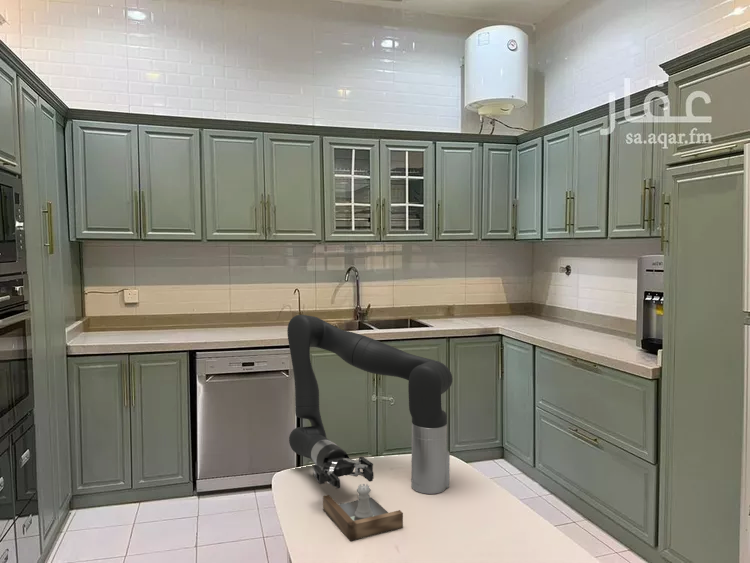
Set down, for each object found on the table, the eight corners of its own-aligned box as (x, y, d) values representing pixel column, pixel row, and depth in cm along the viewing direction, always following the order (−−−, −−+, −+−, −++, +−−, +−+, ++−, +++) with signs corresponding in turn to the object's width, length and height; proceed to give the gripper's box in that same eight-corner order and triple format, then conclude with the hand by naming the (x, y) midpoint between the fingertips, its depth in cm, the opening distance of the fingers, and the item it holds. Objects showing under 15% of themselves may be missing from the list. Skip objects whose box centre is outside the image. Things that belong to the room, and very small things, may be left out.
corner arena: (371, 499, 137) (371, 485, 137) (402, 528, 123) (402, 512, 123) (323, 510, 131) (323, 495, 131) (350, 541, 117) (350, 525, 117)
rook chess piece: (371, 526, 122) (371, 490, 122) (352, 524, 123) (352, 489, 123) (375, 516, 126) (375, 482, 126) (356, 515, 127) (356, 481, 127)
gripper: (303, 448, 140) (327, 470, 125) (354, 439, 146) (382, 460, 132) (303, 476, 140) (327, 502, 126) (353, 467, 147) (382, 490, 132)
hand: (355, 480), depth 129 cm, fingers open, 8 cm apart
